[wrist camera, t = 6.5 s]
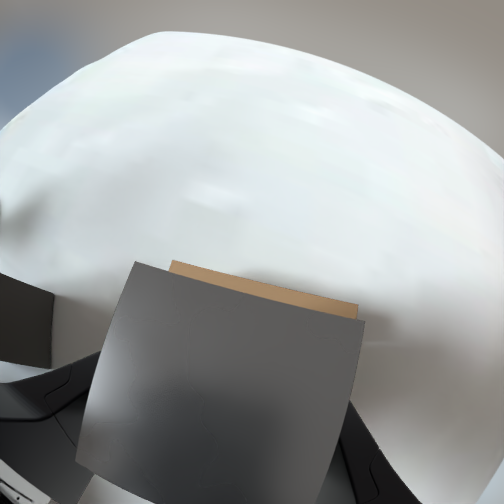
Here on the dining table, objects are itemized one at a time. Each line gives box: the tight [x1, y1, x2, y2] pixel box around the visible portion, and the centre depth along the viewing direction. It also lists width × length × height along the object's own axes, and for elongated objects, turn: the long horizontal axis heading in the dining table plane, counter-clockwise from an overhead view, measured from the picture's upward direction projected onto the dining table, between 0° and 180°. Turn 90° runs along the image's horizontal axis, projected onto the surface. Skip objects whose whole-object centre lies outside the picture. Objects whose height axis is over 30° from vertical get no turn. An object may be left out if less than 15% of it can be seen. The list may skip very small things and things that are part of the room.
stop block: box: [75, 261, 365, 504], centre depth 10 cm, size 4×4×12 cm
